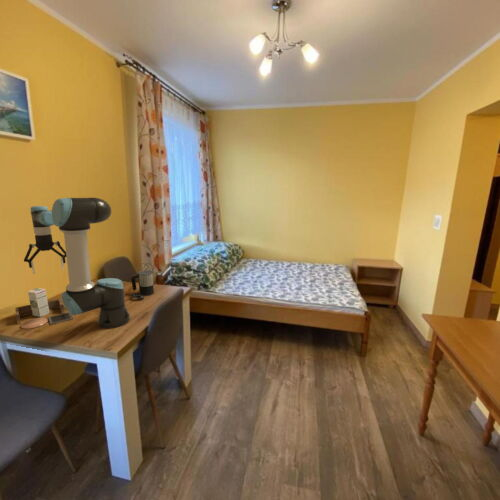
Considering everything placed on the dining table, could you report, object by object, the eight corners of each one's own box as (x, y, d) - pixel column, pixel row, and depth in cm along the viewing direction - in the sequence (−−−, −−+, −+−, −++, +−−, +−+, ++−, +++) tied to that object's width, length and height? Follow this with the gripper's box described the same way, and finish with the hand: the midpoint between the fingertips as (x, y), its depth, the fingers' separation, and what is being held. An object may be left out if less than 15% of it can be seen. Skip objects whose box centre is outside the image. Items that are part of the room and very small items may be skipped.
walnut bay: (64, 312, 154) (63, 304, 153) (17, 324, 141) (15, 315, 140) (61, 306, 163) (60, 298, 162) (16, 316, 150) (15, 307, 149)
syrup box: (50, 312, 154) (46, 288, 151) (39, 317, 148) (35, 292, 145) (42, 311, 155) (38, 287, 152) (31, 316, 150) (27, 291, 147)
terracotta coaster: (48, 324, 141) (48, 323, 141) (21, 331, 134) (21, 330, 134) (46, 316, 149) (46, 315, 149) (20, 323, 142) (20, 322, 142)
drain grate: (73, 319, 147) (73, 318, 146) (50, 325, 140) (50, 324, 140) (70, 312, 154) (69, 311, 154) (48, 318, 147) (48, 317, 147)
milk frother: (153, 290, 189) (152, 269, 186) (156, 298, 175) (154, 276, 172) (131, 293, 184) (129, 272, 180) (132, 301, 170) (130, 279, 166)
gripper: (68, 231, 162) (73, 265, 167) (13, 235, 147) (20, 273, 151) (70, 232, 156) (75, 268, 161) (13, 237, 141) (20, 276, 146)
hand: (49, 270), depth 156 cm, fingers open, 13 cm apart
